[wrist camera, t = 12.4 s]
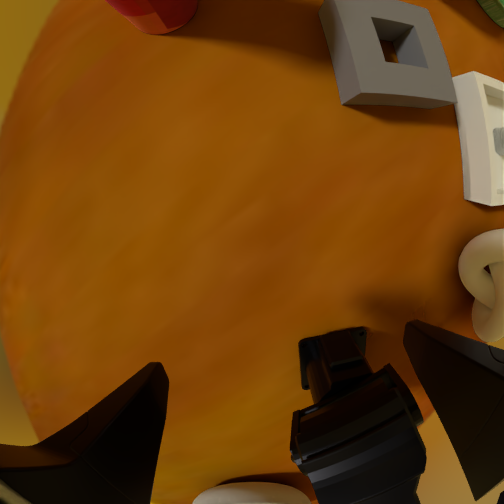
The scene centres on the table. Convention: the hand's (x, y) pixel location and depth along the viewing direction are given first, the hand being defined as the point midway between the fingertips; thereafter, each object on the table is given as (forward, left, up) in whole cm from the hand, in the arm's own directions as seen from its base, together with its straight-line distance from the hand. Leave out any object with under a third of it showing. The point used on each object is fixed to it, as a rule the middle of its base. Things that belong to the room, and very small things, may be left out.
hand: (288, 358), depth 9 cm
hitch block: (+15, -12, -13) cm, 23 cm away
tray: (+8, -26, -13) cm, 30 cm away
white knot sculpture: (-6, -23, -13) cm, 28 cm away
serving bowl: (-44, +8, -13) cm, 47 cm away
